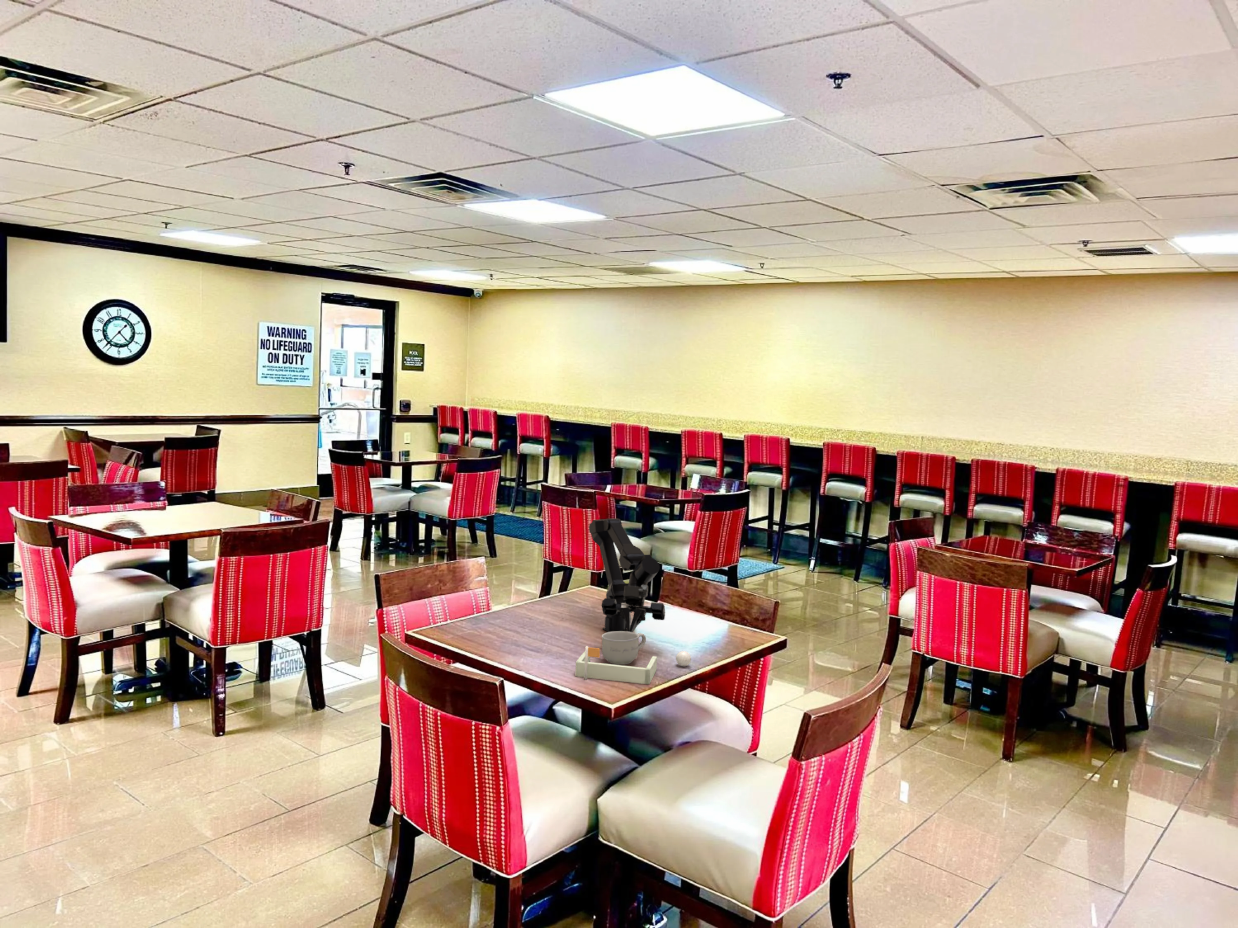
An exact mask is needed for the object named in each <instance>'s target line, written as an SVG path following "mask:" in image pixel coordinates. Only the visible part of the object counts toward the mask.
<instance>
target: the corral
mask: <svg viewBox="0 0 1238 928" xmlns="http://www.w3.org/2000/svg"><path fill="white" fill-rule="evenodd" d="M600 656H601V648H599V647H598V648H596V647H589V646H588V645H586V646H585V651H583V652H582V654H581V655H580V656H579V657H578V659H577V660H576V661H575V673H574V675H575V677H579V678H583V680H588V679H598V680H604V681H605V680H606V681H613V682H614V681H615V682H623V683H624V682H625V683H632V684H640V685H641V684H642V685H650V684H651V682H652V679H653V677H654V676H655V674H656V673H657V665H658V664H657V663H658V656H656V655H652V657H651V658H650V661H649V662H648V665H647V666H646V667H640V666H639V667H638V666H630V665H616V664H611V663H603V662H602V663H600V662H591V658H599V659H600V658H601V657H600Z"/></svg>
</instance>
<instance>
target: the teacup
mask: <svg viewBox="0 0 1238 928" xmlns="http://www.w3.org/2000/svg"><path fill="white" fill-rule="evenodd" d="M640 637H641V641H640V643H639V638H640ZM646 642H647V637H646V635H645V633H642V632H639V633H635V632H634V631H633V632H627V631H614V632H608V631H606V632H605V633H603V634H601V652H602V657H603V658H604V659H605V660H606V661H607V662H608V664H612V665H622V666H625V665H629V664H631V663H632V662H633V661H634V660H636V659H637V657H638V655H639V650H641V649H642V648H643V647H644V646H645V644H646Z"/></svg>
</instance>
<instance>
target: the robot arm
mask: <svg viewBox="0 0 1238 928" xmlns="http://www.w3.org/2000/svg"><path fill="white" fill-rule="evenodd" d="M588 530H589V533H590V534H591V538H592V541H593V542H594V543H595V544H597V546H598V547H599V550H600V554H601V558H602V559H601V560H602V562H603V567H604V570H605V574H606V579H607V580H606V581H607V584H608V587H607V590H606V593H605V598H604V599H602V601H601V610H602V614H603V615H605V617H604V627H602V629H603V630H604V631H605V632H614V631H627V632H633V633H634V631H635V630H636V628H637V627H638V626H639V625H640V624H641V623H642V622H643V621H644V622H645V621H646V615H647V614H651V617H652V619H653V620H656V621H664V620H665V619H666V608H665V604H664V602H653V601H651V602H650V606H648V605H645V600H646V598H647V597H648V594H649V585H648V583H649V582H651V581H652V580H653V579H654V578H655V576H656V575H657V574H658V572H659V571H660V570H661V569H660V568H661V566H660V563H659V562H658V561H657V559H655V558H653V557H651V554H650V553H649V554H645V553H644V552H643V551H642V550H641V548H639V547H637V546H636V545H634V544H633V542H632V541H631V538H630V537H629V536H628V534H627V532H626V529H624V527H623V523H622V520H621V519H620V518H605V519H593V520H592V521H591V522H590V523H589V526H588ZM616 549H617V551H618V553H619V559H618V555H617V551H616ZM621 569H622V570H623V571H625V572H629V571H630V572H631V573H630V574H629V579H628V582H627V583H626V582H625V581H624V580H623V575H622V571H621ZM631 613H633V615H632V616H631Z"/></svg>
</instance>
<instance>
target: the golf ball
mask: <svg viewBox="0 0 1238 928" xmlns="http://www.w3.org/2000/svg"><path fill="white" fill-rule="evenodd" d="M675 661H676V663H677V664H678V665H679V666H680V667H687V666H688V665H690V663H691V661H692V657H691V654H690V653H689V652H688V651H685V650H682V651H679V652H678V653H677V654H676V656H675Z"/></svg>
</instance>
